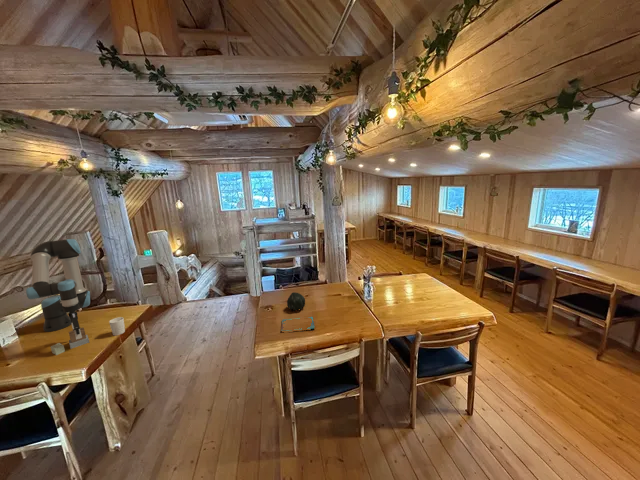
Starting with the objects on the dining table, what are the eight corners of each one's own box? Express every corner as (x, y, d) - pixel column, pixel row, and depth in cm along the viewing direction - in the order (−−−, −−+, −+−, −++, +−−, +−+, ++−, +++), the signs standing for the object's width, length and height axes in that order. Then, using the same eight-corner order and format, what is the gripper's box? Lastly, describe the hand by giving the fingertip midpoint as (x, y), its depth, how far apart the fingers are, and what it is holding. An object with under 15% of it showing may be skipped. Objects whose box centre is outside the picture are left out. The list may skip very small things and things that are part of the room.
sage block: (52, 353, 159) (50, 346, 158) (60, 349, 162) (59, 343, 162) (56, 355, 156) (54, 348, 155) (65, 351, 160) (63, 345, 159)
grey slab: (69, 345, 167) (68, 340, 167) (88, 339, 174) (87, 334, 173) (70, 349, 163) (69, 344, 162) (89, 342, 169) (88, 338, 168)
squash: (310, 299, 211) (298, 286, 211) (305, 307, 197) (292, 293, 196) (299, 308, 215) (286, 295, 215) (293, 317, 201) (280, 304, 201)
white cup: (124, 328, 185) (121, 316, 183) (127, 332, 180) (124, 319, 178) (110, 333, 179) (107, 320, 177) (113, 337, 174) (110, 323, 172)
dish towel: (315, 331, 173) (315, 327, 173) (280, 334, 171) (280, 330, 171) (313, 318, 190) (313, 315, 190) (281, 321, 188) (281, 318, 188)
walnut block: (70, 340, 167) (68, 331, 166) (84, 335, 172) (83, 327, 171) (71, 343, 163) (69, 334, 162) (86, 338, 168) (84, 329, 167)
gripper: (60, 301, 168) (67, 331, 172) (64, 312, 152) (72, 344, 156) (76, 297, 174) (82, 326, 178) (81, 307, 158) (88, 338, 162)
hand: (77, 334), depth 167 cm, fingers open, 13 cm apart
